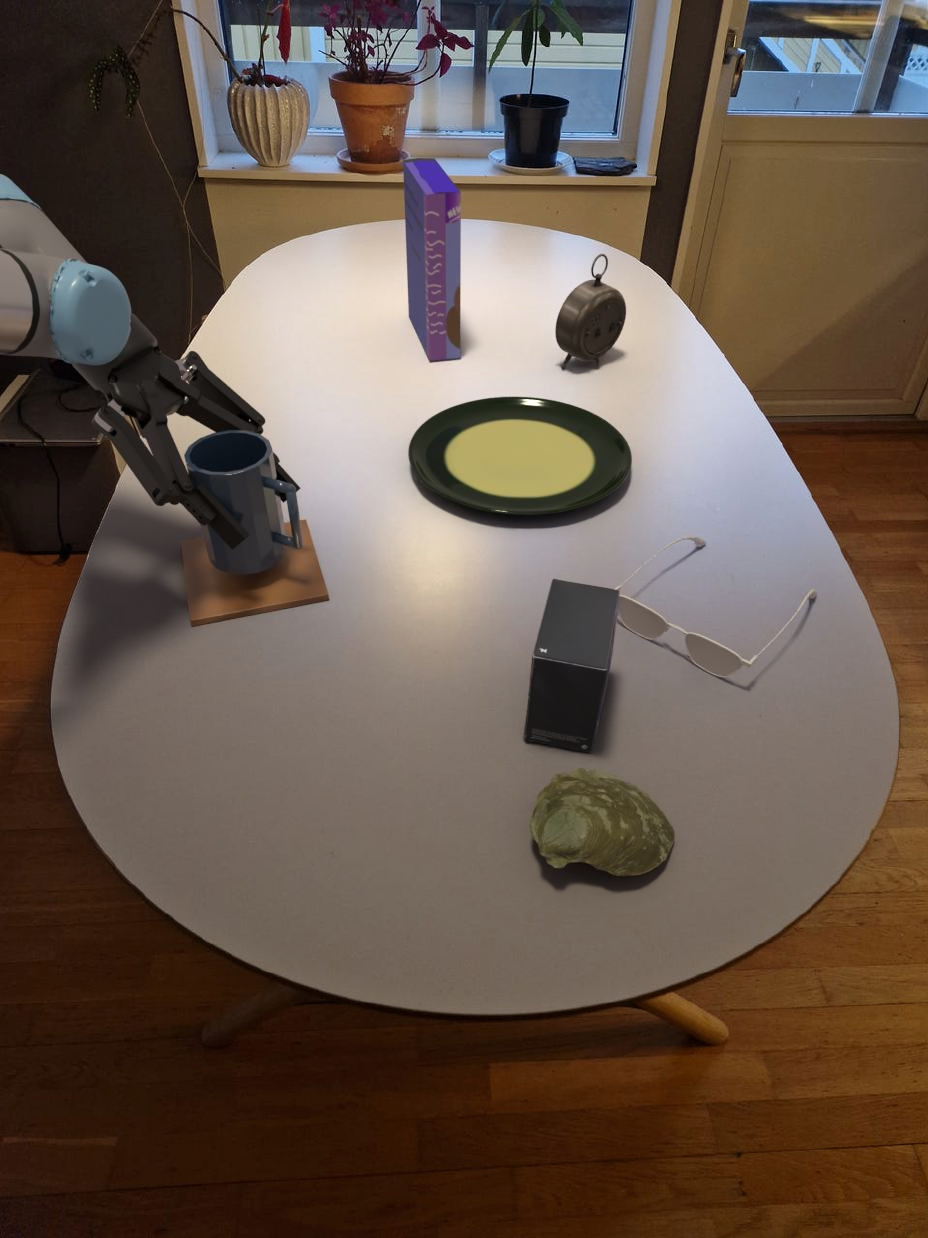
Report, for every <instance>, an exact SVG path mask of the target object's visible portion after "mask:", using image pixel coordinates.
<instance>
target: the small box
mask: <svg viewBox="0 0 928 1238" xmlns="http://www.w3.org/2000/svg"><path fill="white" fill-rule="evenodd" d="M620 591H621V590H620ZM620 591H619V590H615V588H610V587H604V586H598V585H592V584H586V583H579V582H574V581H568V580H564V579H563V580H562V579H558V578H552V580H551V583H550V586H549V591H548V593H547V598H546V602H545V606H544V609H543V613H542V617H541V620H540V624H539V628H538V633H537V636H536V640H535V644H534V648H533V651H532V655H531V663H530V664H531V665H530V673H529V674H530V675H529V686H528V694H527V696H528V698H527V705H526V706H527V707H526V715H525V720H524V721H525V722H524V727H523V729H524V730H523V735H522V739H523V740H524V741H526V742H530V743H531V742H532V743H538V744H543V745H549V746H552V747H558V748H563V749H568V750H571V751H577V752H583V753H591V752H592V751H593V747H594V743H595V740H596V735H597V732H598V728H599V724H600V720H601V715H602V710H603V705H604V701H605V697H606V690H607V686H608V680H609V675H610V670H611V665H612V659H613V653H614V646H615V639H616V631H617V623H618V616H619V613H618V605H619V595H620Z"/></svg>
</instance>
